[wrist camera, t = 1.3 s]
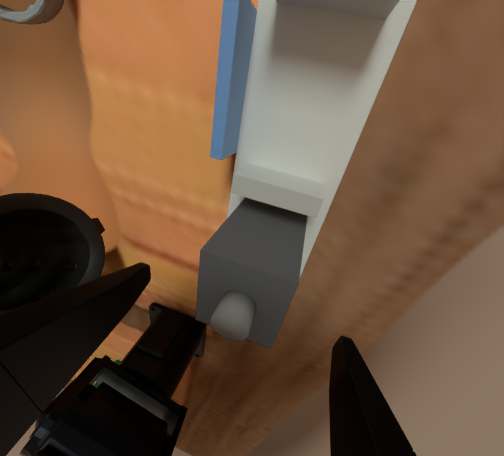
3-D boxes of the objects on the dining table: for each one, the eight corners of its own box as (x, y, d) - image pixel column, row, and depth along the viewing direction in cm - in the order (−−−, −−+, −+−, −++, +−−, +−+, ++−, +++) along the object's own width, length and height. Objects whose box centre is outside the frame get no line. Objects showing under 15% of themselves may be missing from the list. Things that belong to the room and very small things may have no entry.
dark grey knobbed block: (287, 269, 15) (265, 374, 9) (235, 252, 16) (182, 340, 10) (307, 215, 13) (295, 309, 7) (245, 197, 14) (184, 269, 8)
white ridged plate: (291, 293, 17) (285, 328, 15) (215, 267, 18) (197, 295, 16) (426, -33, 8) (482, -108, 5) (258, -53, 9) (229, -127, 6)
